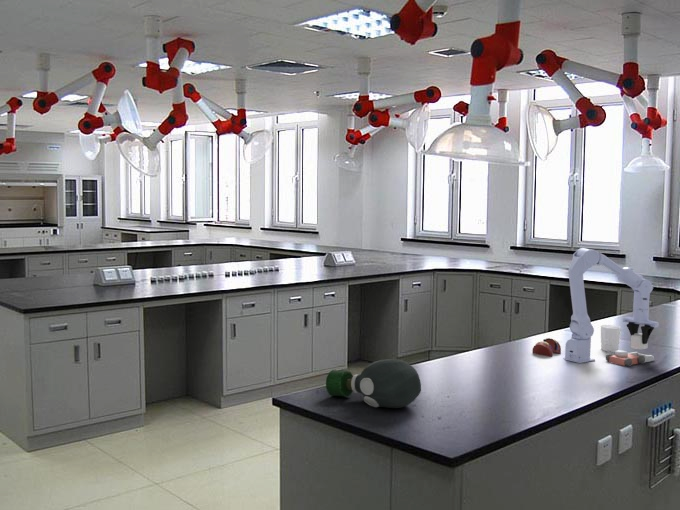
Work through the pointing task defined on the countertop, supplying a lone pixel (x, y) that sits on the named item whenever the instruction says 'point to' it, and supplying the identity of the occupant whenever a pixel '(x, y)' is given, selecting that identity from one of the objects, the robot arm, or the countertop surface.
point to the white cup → (610, 337)
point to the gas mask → (378, 383)
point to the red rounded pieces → (547, 347)
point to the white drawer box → (638, 341)
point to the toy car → (628, 358)
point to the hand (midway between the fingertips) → (639, 342)
